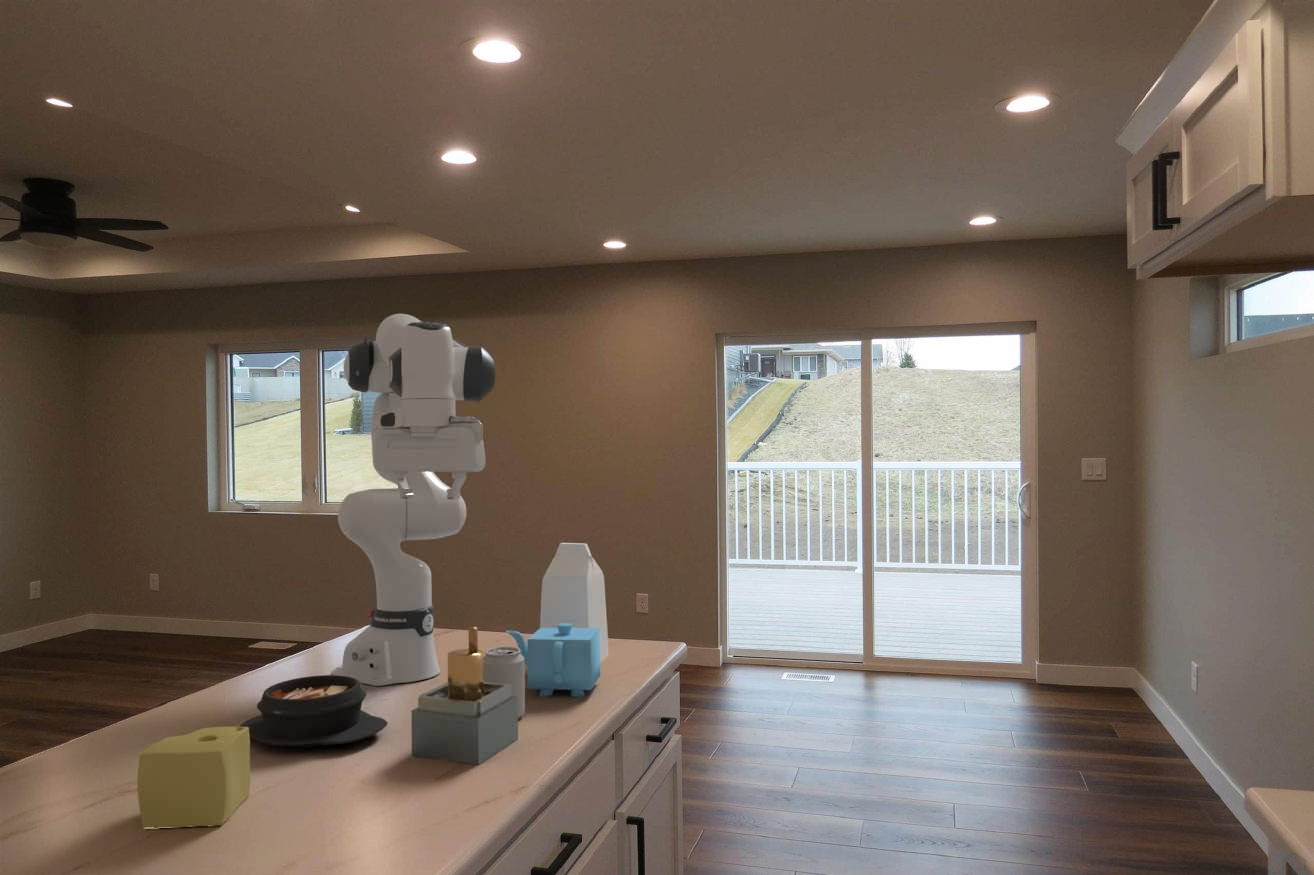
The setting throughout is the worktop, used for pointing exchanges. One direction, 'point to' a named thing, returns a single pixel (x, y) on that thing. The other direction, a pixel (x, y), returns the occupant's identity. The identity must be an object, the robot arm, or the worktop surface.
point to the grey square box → (464, 724)
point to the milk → (575, 592)
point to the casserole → (313, 713)
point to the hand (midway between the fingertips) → (429, 499)
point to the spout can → (466, 671)
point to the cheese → (194, 778)
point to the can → (507, 671)
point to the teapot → (561, 658)
